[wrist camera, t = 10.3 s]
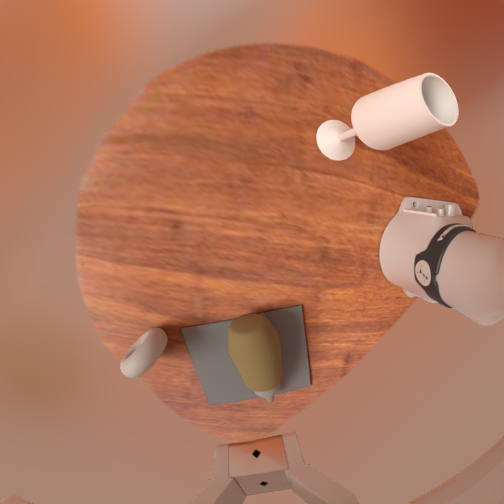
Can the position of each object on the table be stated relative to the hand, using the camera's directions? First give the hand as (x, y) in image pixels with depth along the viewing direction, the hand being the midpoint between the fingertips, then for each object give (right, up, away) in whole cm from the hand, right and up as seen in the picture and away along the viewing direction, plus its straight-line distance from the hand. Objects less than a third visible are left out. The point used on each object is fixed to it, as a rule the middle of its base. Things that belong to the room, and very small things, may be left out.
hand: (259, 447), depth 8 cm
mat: (0, -12, +37) cm, 39 cm away
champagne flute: (+13, +25, +30) cm, 41 cm away
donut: (-18, -7, +35) cm, 40 cm away
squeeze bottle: (-1, -3, +30) cm, 30 cm away
